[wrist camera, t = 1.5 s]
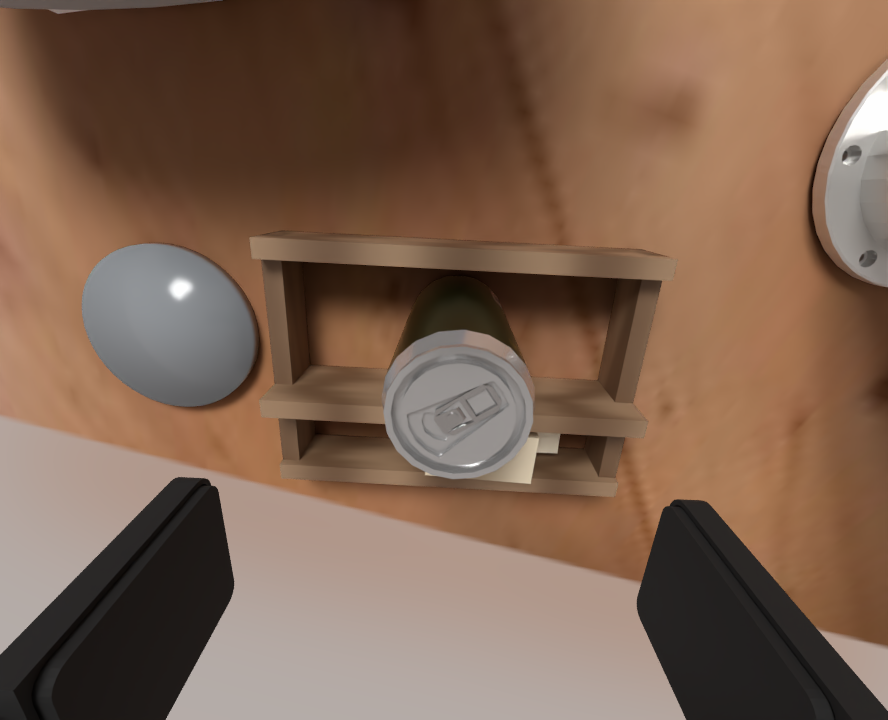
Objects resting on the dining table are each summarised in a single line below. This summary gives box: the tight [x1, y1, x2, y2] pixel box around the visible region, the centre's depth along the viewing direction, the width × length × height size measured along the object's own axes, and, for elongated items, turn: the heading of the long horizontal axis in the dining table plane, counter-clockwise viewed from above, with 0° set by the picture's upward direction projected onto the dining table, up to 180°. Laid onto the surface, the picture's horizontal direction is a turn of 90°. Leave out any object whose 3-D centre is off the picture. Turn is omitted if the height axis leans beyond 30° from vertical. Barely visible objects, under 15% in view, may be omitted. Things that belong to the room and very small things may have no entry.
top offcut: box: [425, 432, 539, 484], centre depth 24 cm, size 6×3×2 cm, turn 86°
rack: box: [249, 231, 678, 497], centre depth 23 cm, size 20×14×5 cm
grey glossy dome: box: [82, 243, 259, 407], centre depth 25 cm, size 10×10×1 cm
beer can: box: [381, 275, 535, 479], centre depth 19 cm, size 5×5×12 cm
